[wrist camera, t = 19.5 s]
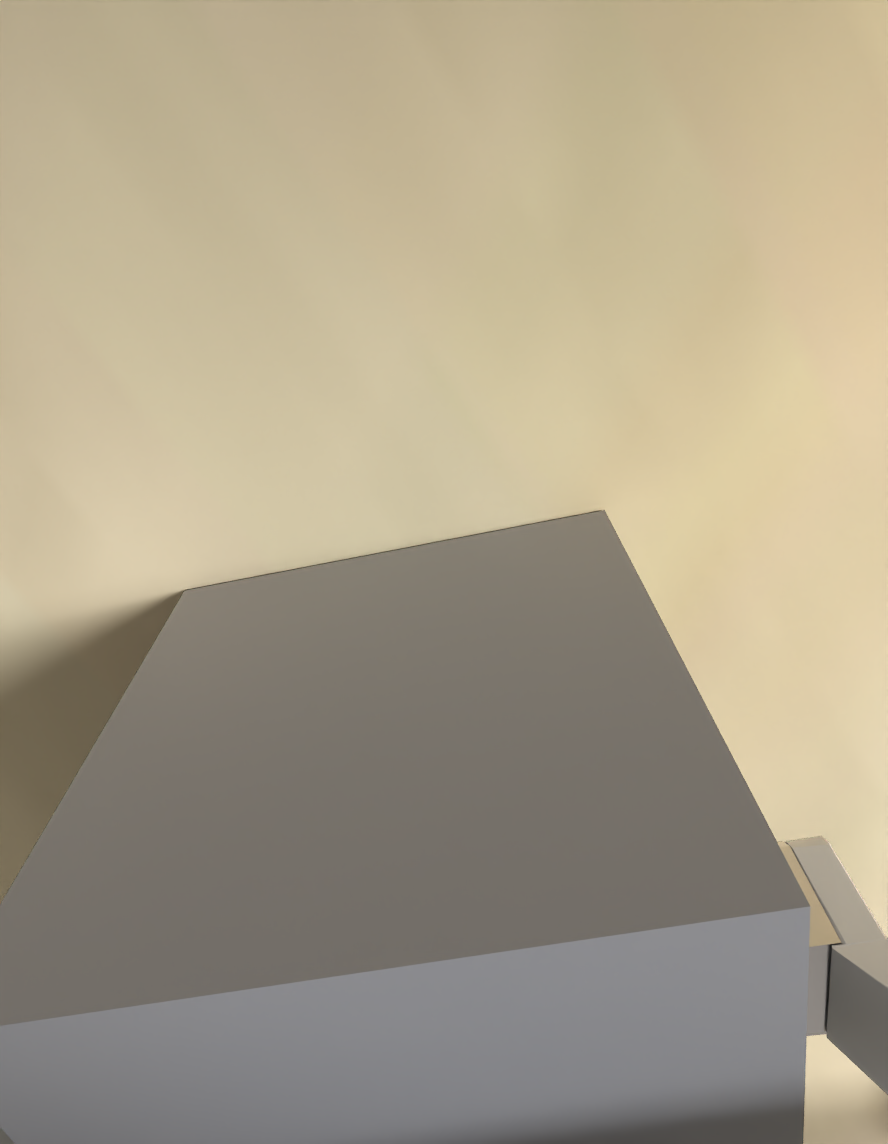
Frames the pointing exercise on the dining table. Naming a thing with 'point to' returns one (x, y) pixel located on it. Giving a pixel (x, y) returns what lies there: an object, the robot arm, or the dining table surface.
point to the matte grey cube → (409, 876)
